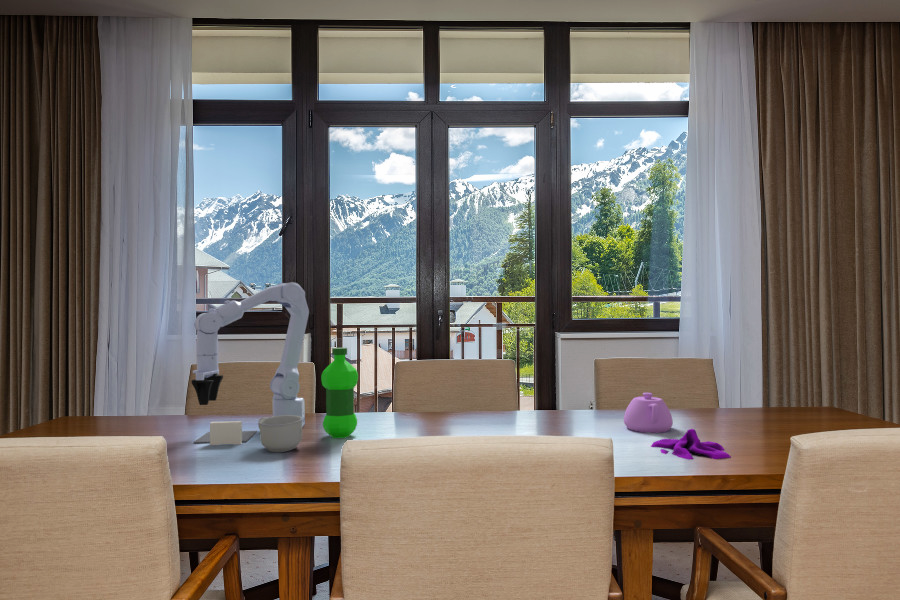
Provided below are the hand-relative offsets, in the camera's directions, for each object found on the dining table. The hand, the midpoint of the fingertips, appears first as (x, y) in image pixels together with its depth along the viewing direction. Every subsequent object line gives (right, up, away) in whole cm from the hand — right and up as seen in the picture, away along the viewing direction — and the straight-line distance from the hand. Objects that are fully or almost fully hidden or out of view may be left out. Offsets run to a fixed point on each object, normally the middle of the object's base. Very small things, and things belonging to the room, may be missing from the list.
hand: (208, 402), depth 179 cm
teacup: (+24, -10, -15) cm, 30 cm away
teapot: (+128, -9, +7) cm, 128 cm away
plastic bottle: (+38, -10, -1) cm, 39 cm away
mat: (+6, -10, -2) cm, 11 cm away
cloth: (+129, -9, -22) cm, 131 cm away
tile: (+9, -10, -9) cm, 16 cm away
